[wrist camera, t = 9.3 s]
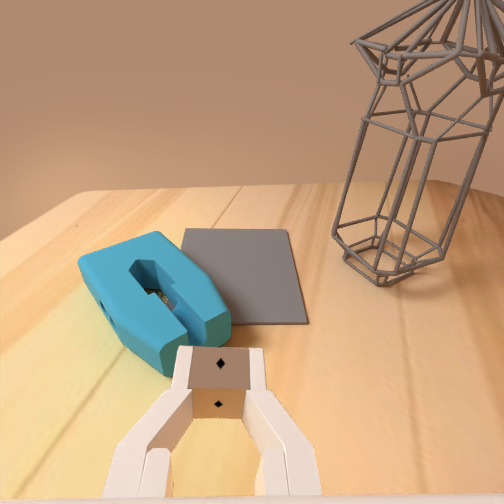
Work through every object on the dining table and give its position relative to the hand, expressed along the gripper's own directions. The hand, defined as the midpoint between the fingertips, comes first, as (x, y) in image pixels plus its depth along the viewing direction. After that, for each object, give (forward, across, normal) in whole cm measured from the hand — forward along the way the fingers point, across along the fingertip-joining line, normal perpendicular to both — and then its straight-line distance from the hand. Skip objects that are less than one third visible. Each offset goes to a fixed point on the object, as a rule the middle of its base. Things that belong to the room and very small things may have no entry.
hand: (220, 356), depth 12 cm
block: (+15, +2, +18) cm, 24 cm away
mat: (+31, -2, +21) cm, 38 cm away
